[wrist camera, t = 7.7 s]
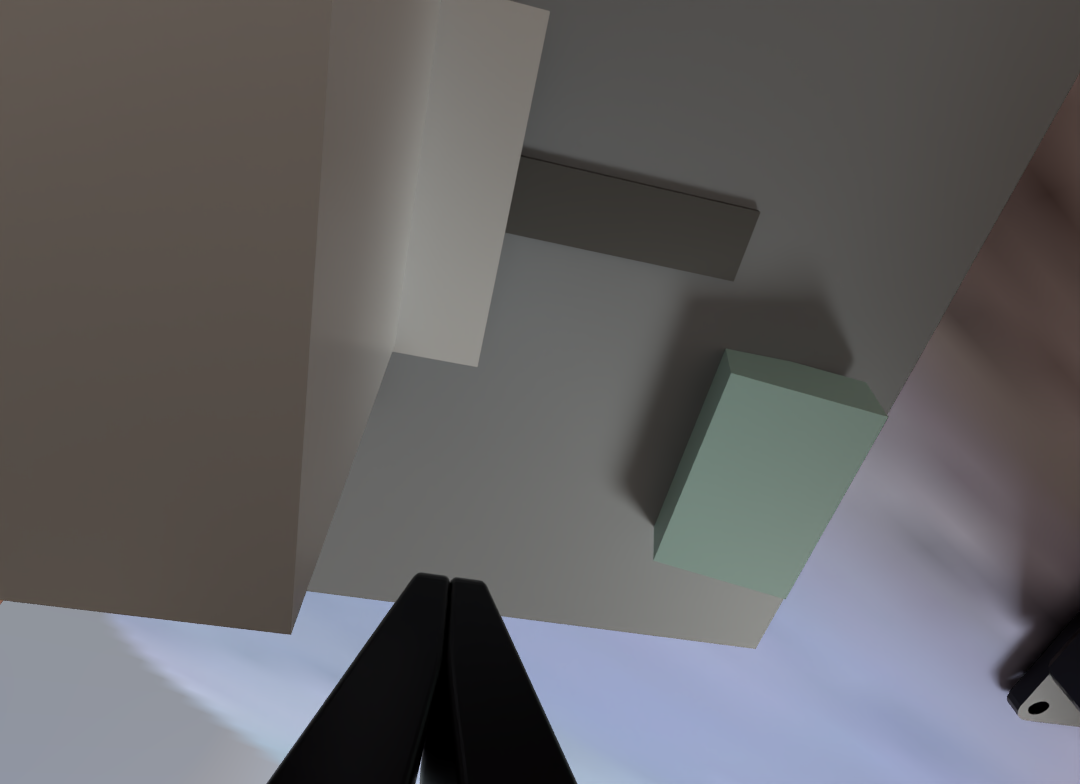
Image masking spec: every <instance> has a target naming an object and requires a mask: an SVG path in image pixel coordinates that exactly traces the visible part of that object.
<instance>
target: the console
mask: <svg viewBox="0 0 1080 784" xmlns="http://www.w3.org/2000/svg"><path fill="white" fill-rule="evenodd" d="M510 1H513V2H517V3H521V4H525V5H529V6H532V7H536V8H540V9H544V10H547V11H550V15H549V19H548V24H547V29H546V34H545V39H544V44H543V49H542V54H541V59H540V63H539V68H538V73H537V78H536V83H535V88H534V93H533V98H532V103H531V108H530V112H529V117H528V122H527V127H526V132H525V137H524V142H523V147H522V152H521V156H520V161H519V166H518V171H517V176H516V181H515V186H514V191H513V196H512V201H511V205H510V210H509V215H508V220H507V225H506V230H505V235H504V240H503V245H502V249H501V254H500V259H499V264H498V269H497V274H496V279H495V284H494V289H493V293H492V298H491V303H490V308H489V313H488V318H487V323H486V328H485V333H484V338H483V342H482V347H481V352H480V357H479V362H478V367H474V366H468V365H463V364H458V363H452V362H447V361H441V360H436V359H430V358H425V357H419V356H414V355H408V354H403V353H397V352H392V354H391V356H390V359H389V362H388V365H387V368H386V370H385V373H384V376H383V379H382V382H381V384H380V387H379V390H378V393H377V395H376V398H375V401H374V404H373V407H372V409H371V412H370V415H369V418H368V421H367V423H366V426H365V429H364V432H363V435H362V437H361V440H360V443H359V446H358V449H357V451H356V454H355V457H354V460H353V462H352V465H351V468H350V471H349V474H348V476H347V479H346V482H345V485H344V488H343V490H342V493H341V496H340V499H339V502H338V504H337V507H336V510H335V513H334V515H333V518H332V521H331V524H330V527H329V529H328V532H327V535H326V538H325V541H324V543H323V546H322V549H321V552H320V555H319V557H318V560H317V563H316V566H315V569H314V571H313V574H312V577H311V580H310V582H309V585H308V588H307V591H311V592H319V593H326V594H334V595H342V596H350V597H357V598H365V599H373V600H381V601H388V602H396V600H397V599H398V598H399V596H400V595H401V593H402V592H403V590H404V589H405V588H406V586H407V585H408V583H409V582H410V581H411V579H412V578H413V577H414V576H415V575H416V574H417V573H419V572H422V573H430V574H437V575H445V576H447V577H448V578H449V580H450V581H451V580H452V579H453V578H455V577H460V578H467V579H474V580H481V581H483V582H484V583H485V584H486V585H487V587H488V589H489V591H490V594H491V596H492V598H493V600H494V602H495V605H496V607H497V609H498V611H499V613H500V615H501V616H505V617H513V618H520V619H528V620H536V621H544V622H551V623H559V624H567V625H575V626H582V627H590V628H598V629H606V630H614V631H621V632H629V633H637V634H645V635H652V636H660V637H668V638H676V639H683V640H691V641H699V642H707V643H714V644H722V645H730V646H738V647H745V648H753V649H756V647H757V645H758V644H759V642H760V640H761V638H762V636H763V635H764V633H765V631H766V629H767V628H768V626H769V624H770V622H771V620H772V619H773V617H774V615H775V613H776V612H777V610H778V608H779V606H780V604H781V603H782V601H783V599H786V597H787V595H788V594H789V592H790V590H791V588H792V587H793V585H794V583H795V581H796V580H797V578H798V576H799V574H800V572H801V571H802V569H803V567H804V565H805V564H806V562H807V560H808V558H809V557H810V555H811V553H812V551H813V549H814V548H815V546H816V544H817V542H818V541H819V539H820V537H821V535H822V533H823V532H824V530H825V528H826V526H827V525H828V523H829V521H830V519H831V518H832V516H833V514H834V512H835V510H836V509H837V507H838V505H839V503H840V502H841V500H842V498H843V496H844V495H845V493H846V491H847V489H848V487H849V486H850V484H851V482H852V480H853V479H854V477H855V475H856V473H857V472H858V470H859V468H860V466H861V464H862V463H863V461H864V459H865V457H866V456H867V454H868V452H869V450H870V448H871V447H872V445H873V443H874V441H875V440H876V438H877V436H878V434H879V433H880V431H881V429H882V427H883V425H884V424H885V422H886V420H887V418H888V416H887V414H888V412H889V411H890V409H891V407H892V405H893V404H894V402H895V400H896V398H897V396H898V395H899V393H900V391H901V389H902V388H903V386H904V384H905V382H906V380H907V379H908V377H909V375H910V373H911V372H912V370H913V368H914V366H915V364H916V363H917V361H918V359H919V357H920V356H921V354H922V352H923V350H924V349H925V347H926V345H927V343H928V341H929V340H930V338H931V336H932V334H933V333H934V331H935V329H936V327H937V325H938V324H939V322H940V320H941V318H942V317H943V315H944V313H945V311H946V309H947V308H948V306H949V304H950V302H951V301H952V299H953V297H954V295H955V293H956V292H957V290H958V288H959V286H960V285H961V283H962V281H963V279H964V277H965V276H966V274H967V272H968V270H969V269H970V267H971V265H972V263H973V261H974V260H975V258H976V256H977V254H978V253H979V251H980V249H981V247H982V245H983V244H984V242H985V240H986V238H987V237H988V235H989V233H990V231H991V229H992V228H993V226H994V224H995V222H996V221H997V219H998V217H999V215H1000V213H1001V212H1002V210H1003V208H1004V206H1005V205H1006V203H1007V201H1008V199H1009V197H1010V196H1011V194H1012V192H1013V190H1014V189H1015V187H1016V185H1017V183H1018V181H1019V180H1020V178H1021V176H1022V174H1023V173H1024V171H1025V169H1026V167H1027V165H1028V164H1029V162H1030V160H1031V158H1032V157H1033V155H1034V153H1035V151H1036V149H1037V148H1038V146H1039V144H1040V142H1041V141H1042V139H1043V137H1044V135H1045V133H1046V132H1047V130H1048V128H1049V126H1050V125H1051V123H1052V121H1053V119H1054V117H1055V116H1056V114H1057V112H1058V110H1059V109H1060V107H1061V105H1062V103H1063V101H1064V100H1065V98H1066V96H1067V94H1068V93H1069V91H1070V89H1071V87H1072V85H1073V84H1074V82H1075V80H1076V78H1077V77H1078V75H1079V73H1080V0H510Z"/></svg>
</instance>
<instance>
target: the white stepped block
mask: <svg viewBox="0 0 1080 784" xmlns="http://www.w3.org/2000/svg"><path fill="white" fill-rule="evenodd" d="M549 15H550V11H547V10H544V9H540V8H536V7H532V6H529V5H525V4H521V3H517V2H513V1H510V0H0V600H4V601H13V602H21V603H30V604H38V605H46V606H55V607H63V608H72V609H80V610H89V611H97V612H105V613H113V614H122V615H130V616H139V617H147V618H155V619H164V620H172V621H181V622H189V623H197V624H206V625H214V626H223V627H231V628H239V629H248V630H256V631H264V632H273V633H281V634H290V635H291V633H292V630H293V627H294V624H295V622H296V619H297V616H298V613H299V610H300V608H301V605H302V602H303V599H304V596H305V594H306V591H307V588H308V585H309V582H310V580H311V577H312V574H313V571H314V569H315V566H316V563H317V560H318V557H319V555H320V552H321V549H322V546H323V543H324V541H325V538H326V535H327V532H328V529H329V527H330V524H331V521H332V518H333V515H334V513H335V510H336V507H337V504H338V502H339V499H340V496H341V493H342V490H343V488H344V485H345V482H346V479H347V476H348V474H349V471H350V468H351V465H352V462H353V460H354V457H355V454H356V451H357V449H358V446H359V443H360V440H361V437H362V435H363V432H364V429H365V426H366V423H367V421H368V418H369V415H370V412H371V409H372V407H373V404H374V401H375V398H376V395H377V393H378V390H379V387H380V384H381V382H382V379H383V376H384V373H385V370H386V368H387V365H388V362H389V359H390V356H391V354H392V352H397V353H403V354H408V355H414V356H419V357H425V358H430V359H436V360H441V361H447V362H452V363H458V364H463V365H468V366H474V367H478V362H479V357H480V352H481V347H482V342H483V338H484V333H485V328H486V323H487V318H488V313H489V308H490V303H491V298H492V293H493V289H494V284H495V279H496V274H497V269H498V264H499V259H500V254H501V249H502V245H503V240H504V235H505V230H506V225H507V220H508V215H509V210H510V205H511V201H512V196H513V191H514V186H515V181H516V176H517V171H518V166H519V161H520V156H521V152H522V147H523V142H524V137H525V132H526V127H527V122H528V117H529V112H530V108H531V103H532V98H533V93H534V88H535V83H536V78H537V73H538V68H539V63H540V59H541V54H542V49H543V44H544V39H545V34H546V29H547V24H548V19H549Z"/></svg>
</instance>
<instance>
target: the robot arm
mask: <svg viewBox="0 0 1080 784" xmlns="http://www.w3.org/2000/svg"><path fill="white" fill-rule="evenodd" d="M1007 701H1008V703H1009V704H1010V705H1011V707H1012V708H1013V709H1014V711H1015V712H1016V714H1017V715H1018V716H1019V717H1020V718H1021V719H1023V720H1027V721H1034V722H1043V723H1051V724H1060V725H1068V726H1076V727H1080V612H1079V613H1078V614H1077V615H1076V616H1075V618H1074V619H1073V620H1072V621H1071V622H1070V623H1069V624H1068V626H1067V627H1066V628H1065V629H1064V630H1063V631H1062V632H1061V634H1060V635H1059V636H1058V637H1057V638H1056V639H1055V640H1054V642H1053V643H1052V644H1051V645H1050V646H1049V647H1048V648H1047V650H1046V651H1045V652H1044V653H1043V654H1042V655H1041V656H1040V658H1039V659H1038V660H1037V661H1036V662H1035V663H1034V664H1033V666H1032V667H1031V668H1030V669H1029V670H1028V671H1027V672H1026V674H1025V675H1024V676H1023V677H1022V678H1021V679H1020V680H1019V682H1018V683H1017V684H1016V685H1015V686H1014V687H1013V688H1012V690H1011V691H1010V692H1009V694H1008V696H1007ZM421 757H422V760H421ZM420 762H421V770H420V784H577V782H576V780H575V778H574V775H573V773H572V771H571V769H570V767H569V764H568V762H567V760H566V758H565V756H564V753H563V751H562V749H561V747H560V745H559V743H558V740H557V738H556V736H555V734H554V732H553V729H552V727H551V725H550V723H549V721H548V718H547V716H546V714H545V712H544V710H543V707H542V705H541V703H540V701H539V699H538V697H537V694H536V692H535V690H534V688H533V686H532V683H531V681H530V679H529V677H528V675H527V672H526V670H525V668H524V666H523V664H522V661H521V659H520V657H519V655H518V653H517V651H516V648H515V646H514V644H513V642H512V640H511V637H510V635H509V633H508V631H507V629H506V626H505V624H504V622H503V620H502V618H501V615H500V613H499V611H498V609H497V607H496V605H495V602H494V600H493V598H492V596H491V594H490V591H489V589H488V587H487V585H486V584H485V583H484V582H483V581H481V580H474V579H467V578H460V577H455V578H453V579H452V580H451V581H450V580H449V578H448V577H447V576H445V575H437V574H430V573H422V572H419V573H417V574H416V575H415V576H414V577H413V578H412V579H411V581H410V582H409V583H408V585H407V586H406V588H405V589H404V590H403V592H402V593H401V595H400V596H399V598H398V599H397V600H396V602H395V603H394V605H393V606H392V607H391V609H390V610H389V612H388V613H387V614H386V616H385V617H384V619H383V620H382V622H381V623H380V624H379V626H378V627H377V629H376V630H375V631H374V633H373V634H372V636H371V637H370V638H369V640H368V641H367V643H366V644H365V646H364V647H363V648H362V650H361V651H360V653H359V654H358V655H357V657H356V658H355V660H354V661H353V662H352V664H351V665H350V667H349V668H348V670H347V671H346V672H345V674H344V675H343V677H342V678H341V679H340V681H339V682H338V684H337V685H336V686H335V688H334V689H333V691H332V692H331V694H330V695H329V696H328V698H327V699H326V701H325V702H324V703H323V705H322V706H321V708H320V709H319V710H318V712H317V713H316V715H315V716H314V718H313V719H312V720H311V722H310V723H309V725H308V726H307V727H306V729H305V730H304V732H303V733H302V734H301V736H300V737H299V739H298V740H297V742H296V743H295V744H294V746H293V747H292V749H291V750H290V751H289V753H288V754H287V756H286V757H285V758H284V760H283V761H282V763H281V764H280V765H279V767H278V768H277V770H276V771H275V773H274V774H273V775H272V777H271V778H270V780H269V781H268V782H267V784H415V783H416V779H417V774H418V770H419V766H420Z"/></svg>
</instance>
